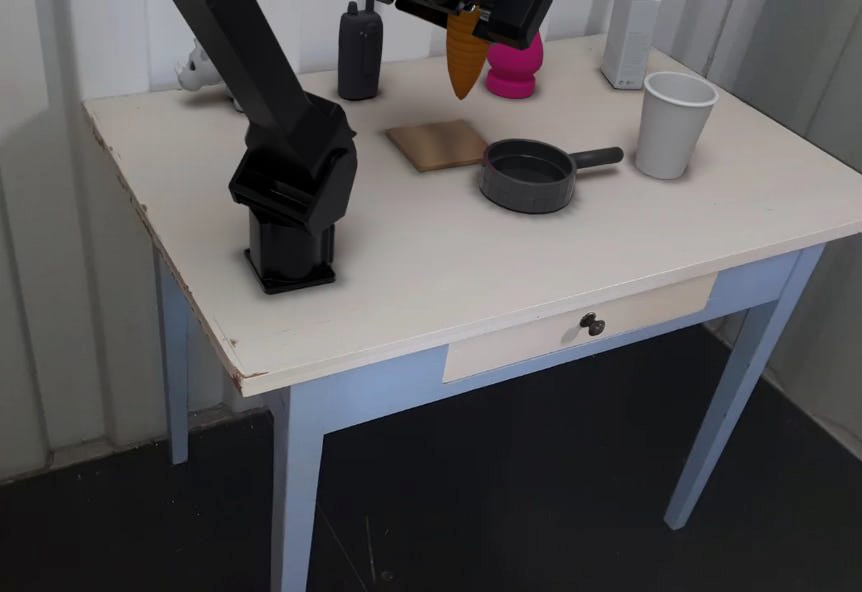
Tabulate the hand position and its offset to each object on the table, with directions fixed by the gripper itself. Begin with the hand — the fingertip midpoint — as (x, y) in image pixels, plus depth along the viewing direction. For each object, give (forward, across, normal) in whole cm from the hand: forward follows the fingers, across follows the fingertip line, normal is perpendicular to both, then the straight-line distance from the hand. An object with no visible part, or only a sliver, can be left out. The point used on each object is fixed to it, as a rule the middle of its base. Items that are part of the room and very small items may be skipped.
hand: (475, 34), depth 97 cm
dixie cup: (+18, -20, 0) cm, 27 cm away
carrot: (+4, 0, +6) cm, 7 cm away
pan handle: (+11, -14, +5) cm, 19 cm away
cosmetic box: (+32, -6, -14) cm, 36 cm away
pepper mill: (+23, +4, -4) cm, 23 cm away
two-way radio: (+12, +16, +7) cm, 21 cm away
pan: (+7, -10, +12) cm, 17 cm away
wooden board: (+9, +2, +10) cm, 13 cm away
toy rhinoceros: (+3, +25, +16) cm, 30 cm away
